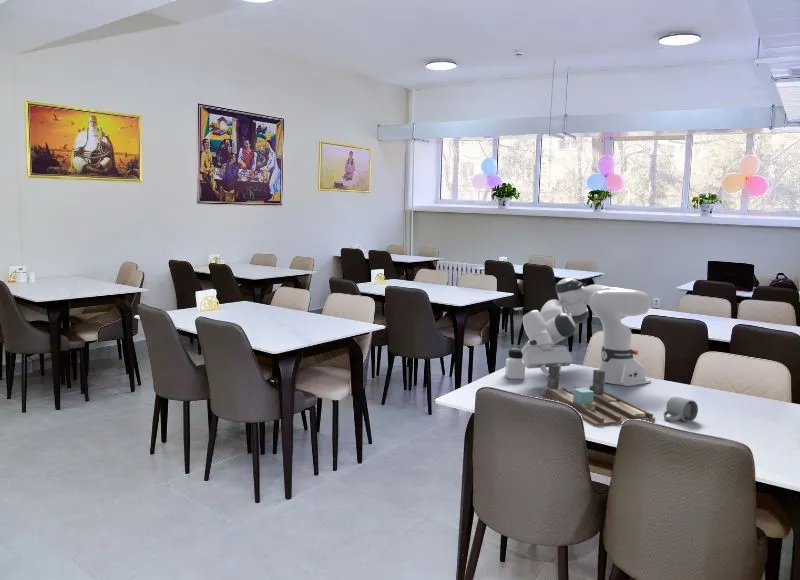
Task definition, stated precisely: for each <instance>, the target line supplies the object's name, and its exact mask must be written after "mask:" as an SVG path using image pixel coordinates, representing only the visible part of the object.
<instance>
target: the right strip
mask: <svg viewBox="0 0 800 580" xmlns="http://www.w3.org/2000/svg"><path fill="white" fill-rule="evenodd" d="M559 368H560V366H558V365H556V364H553V365H549V367H548V369H547V370H548V371H550V372H551V376H550V377H547V386H545V388H544V391H546V389H550V390H552V391H554V392H556V393H558V394H559V395H561V396H563V397H565V398H567V399H569V400H571V401H573V395H572V394H570V393H568V392H566V391H564V390H562V389H561V387H559V382H560V376H559ZM582 407H584V408H586V409H588V410H595V403H594V402H592V403H582Z"/></svg>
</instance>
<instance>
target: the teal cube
mask: <svg viewBox="0 0 800 580" xmlns="http://www.w3.org/2000/svg"><path fill="white" fill-rule="evenodd" d="M589 389H590V388H587V387H579V388H576V389H575V388H573V391H574V393H573V402H574V403H576V404H578V405H580V406H582V403H592V402H593V394H594V392H593V391H591V390H589Z"/></svg>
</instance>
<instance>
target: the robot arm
mask: <svg viewBox="0 0 800 580" xmlns="http://www.w3.org/2000/svg"><path fill="white" fill-rule="evenodd" d="M555 293H556V294H557V297H558V299H555V298H554V299H549V300H548V301H547V302H545V303H544V305H542V307H541V310H540V311H539V310H538V309H533V310H530V311H528V312H526V313H525V314H523V316H522V324H523V328H524V332H525V334H526V336H527V338H528V341H527V342H526V343H525V344H524V345H523V347H522V348H521V349H520V350H521V352H522V354H523V356H522V358H523V362H524V365H525V368H527V369H540V370H541V371H542V372H543V373H544V374H545V377H546V378H548V377H550V376H551V372H550V371H548V370H549V369H547V368H549V365H553V364H556V365H558V366H560V368H559V377H561V376H562V374H563V373H562V367H569V366H570V365H572V363H573V361H574V360H573V357H572V355H571V353H570V351H569V350H568V348H567V346H565V345H563V344H558V343H559V342H562V341H563V340H564V339H567V338H569V337H571V336H573V335H575V332H576V329H577V327H576V324H580V323H583V322H585V321H586V320H588V318H589V317H590V316H589V315H590V314H589V309H588V307H587V306H589V308H590V310H591V312H592V313H593V314H595V315H596V316H597V317H598V319H599V320H600V323H601V325H602V330H603V331H602V332H603V342H602V343H603V345H602V346H601V351H600V352H601V363H600V366H599V370H603V371H605V379H604V383H608V384H612V385H621V386H624V387H625V386H626V387H629V386H637V385H643V384H651V383H652V380H651V378H649V377H647V375H646V368H645V366H644V365H642V363H640V362H639V361H638V360H637V359H636V358H635V357H634V356H638V355H639V350H636V349H632V348H631V346H632V345H631V344H632V331H631V329H630V328H629V327H628V326H627V325H626V324H623V323H622V322H621V317H635V316H637V317H638V316H641V315H645V314H647V313H648V312H649V310H650V309H651V308H650V307H651V298H650V296H649V294H648V293H646V292H645V291H642V290H641V291H640V290H637V289H636V290H635V289H629V288H621V287H612V286H606V285H602V284H589V285H587V286H583V282H582V281H579V280H577V279H576V278H573V277H566V278H565V277H564V278H562V279H561V280H559V281H558V282H557V283H556V284H555Z"/></svg>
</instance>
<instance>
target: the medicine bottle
mask: <svg viewBox="0 0 800 580" xmlns="http://www.w3.org/2000/svg"><path fill="white" fill-rule="evenodd" d="M521 350H522V349H519V348H511V349H509V350H508V358H506V359H505V373H504V374H505V376H506V378H507V379H508V378H509V380H510V379H511V380H525V377H526V376H525V374H526V373H525V372H526V371H525V370H526V367H525V365H524V362H523V358H522V356H523V354H522V352H521Z"/></svg>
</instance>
